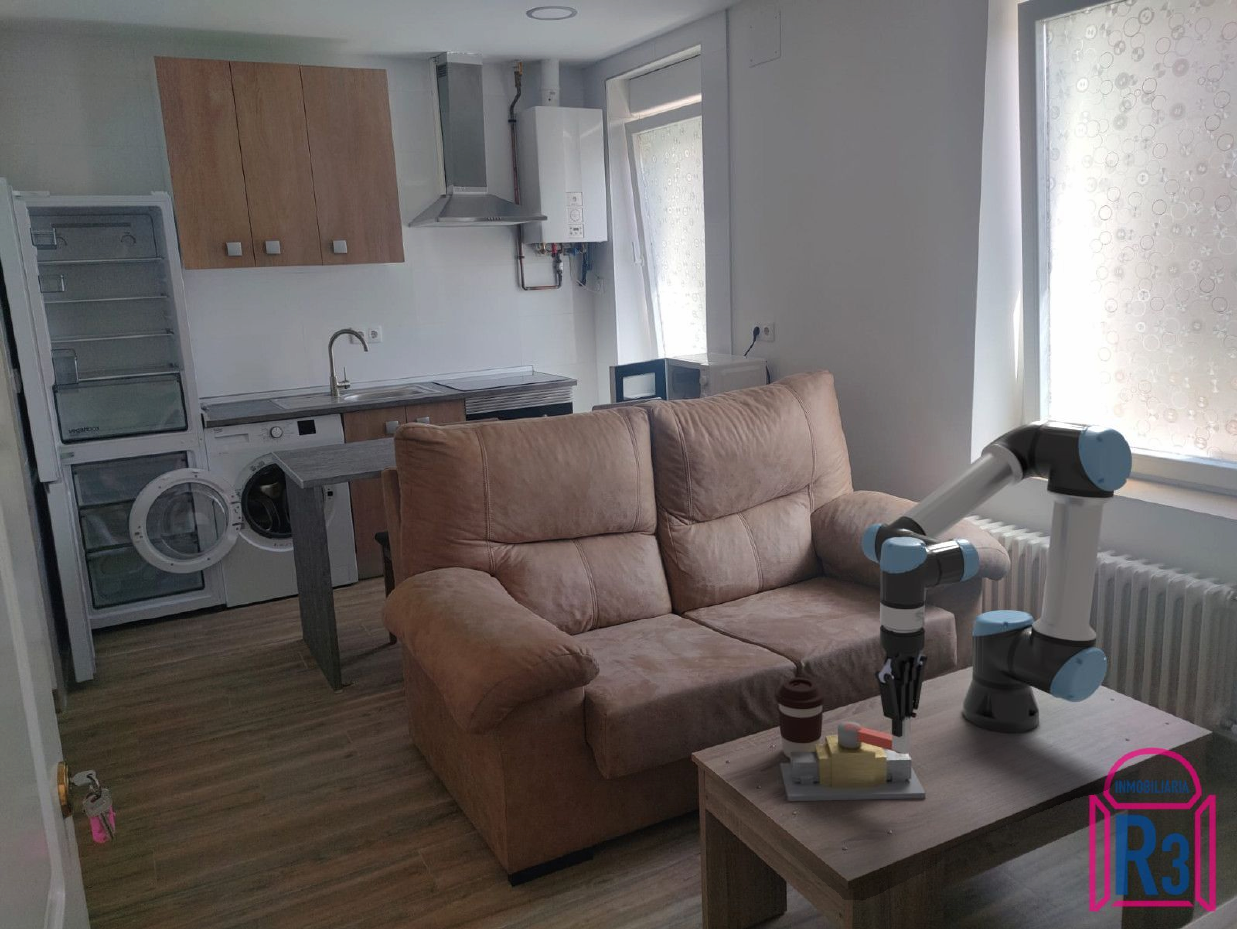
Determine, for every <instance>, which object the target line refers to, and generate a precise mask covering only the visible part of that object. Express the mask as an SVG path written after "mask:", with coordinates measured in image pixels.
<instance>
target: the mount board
mask: <svg viewBox="0 0 1237 929" xmlns="http://www.w3.org/2000/svg"><path fill="white" fill-rule="evenodd" d="M779 768H780V773H781V775H782V776H781V777H782V781H783V784H784V789H785V793H786V797H787V800H788V802H810V801H813V802H815V801H845V800H846V801H849V800H891V799H892V800H893V799H895V800H897V799H925V798H926V792H925V790H924V788H923V785H922V784H921V782H920V780H919V778H918V776H917V774H916V771H915V770H914V769H913V767H912V765H911V779H905V783H893V784H892V782H891V780H887V783H886V785H875V787H848V788H832V786H820V785H819V782H814V785H813V786H801V785H800V782H793V779H792V775H791V769H790V762H781V763H779Z"/></svg>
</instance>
